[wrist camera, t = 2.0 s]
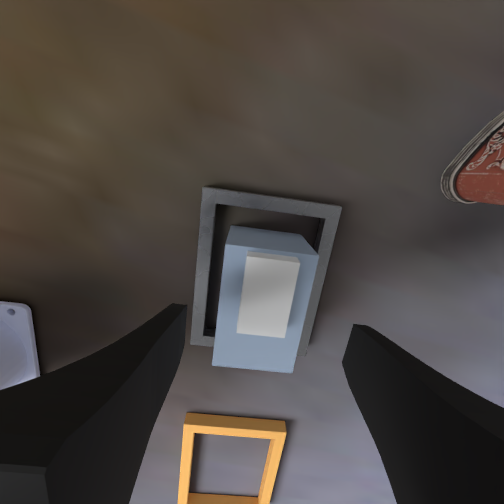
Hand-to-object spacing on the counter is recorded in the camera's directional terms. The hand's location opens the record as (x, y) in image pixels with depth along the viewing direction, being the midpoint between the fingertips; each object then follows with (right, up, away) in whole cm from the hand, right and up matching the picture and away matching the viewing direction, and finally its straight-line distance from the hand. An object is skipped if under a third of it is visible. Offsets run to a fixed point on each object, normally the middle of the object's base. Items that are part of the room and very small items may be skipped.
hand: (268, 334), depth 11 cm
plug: (0, +2, +6) cm, 7 cm away
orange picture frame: (-3, -15, +12) cm, 19 cm away
